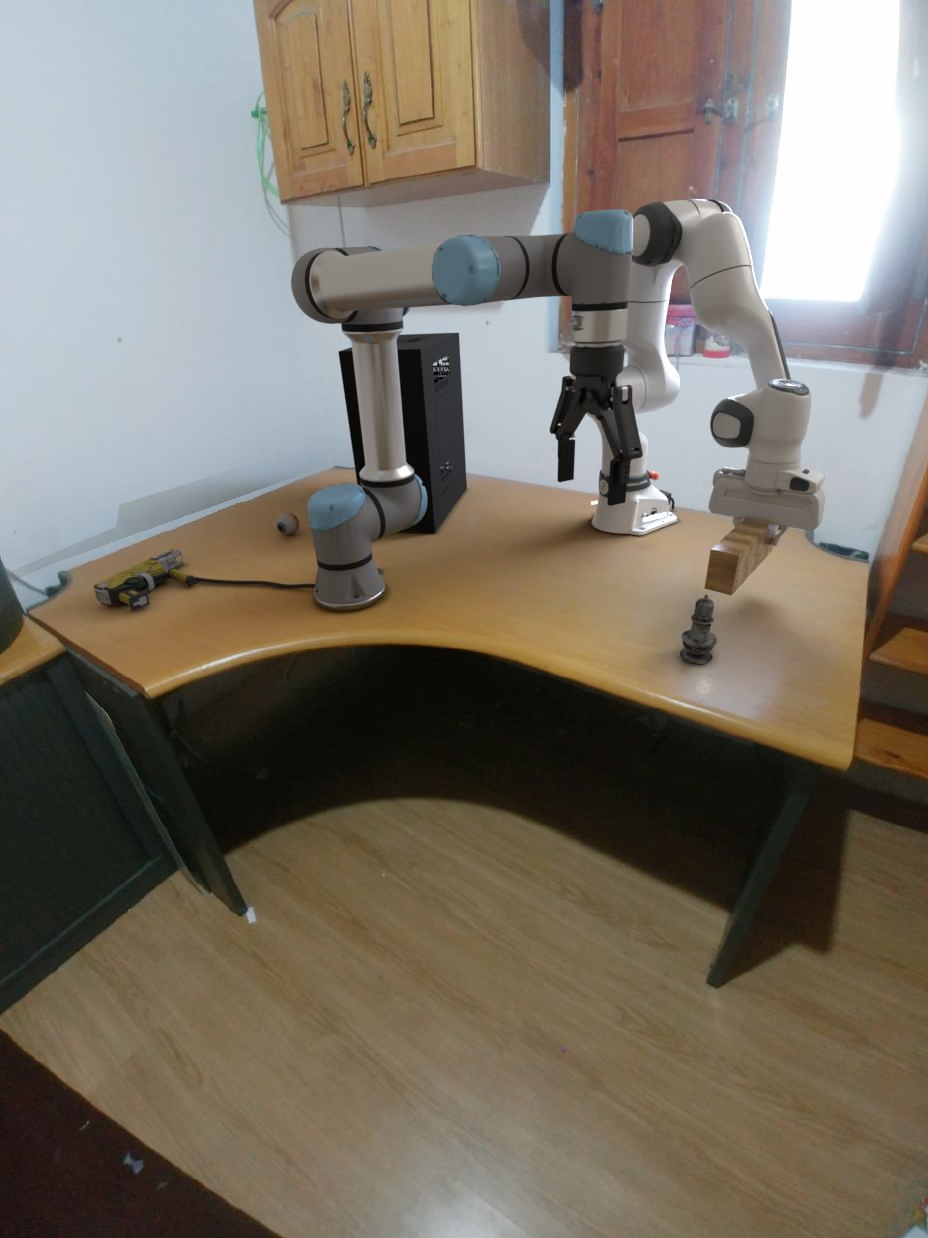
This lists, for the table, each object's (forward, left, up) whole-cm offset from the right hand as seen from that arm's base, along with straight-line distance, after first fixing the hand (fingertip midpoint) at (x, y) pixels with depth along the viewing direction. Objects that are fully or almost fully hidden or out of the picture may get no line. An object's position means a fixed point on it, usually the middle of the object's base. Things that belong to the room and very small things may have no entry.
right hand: (756, 541), depth 120 cm
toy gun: (+112, -66, -10) cm, 130 cm away
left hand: (+43, +2, +19) cm, 47 cm away
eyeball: (+79, -84, -10) cm, 116 cm away
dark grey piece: (+27, +14, -10) cm, 32 cm away
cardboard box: (+41, -84, -10) cm, 94 cm away
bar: (+8, +4, -3) cm, 9 cm away
